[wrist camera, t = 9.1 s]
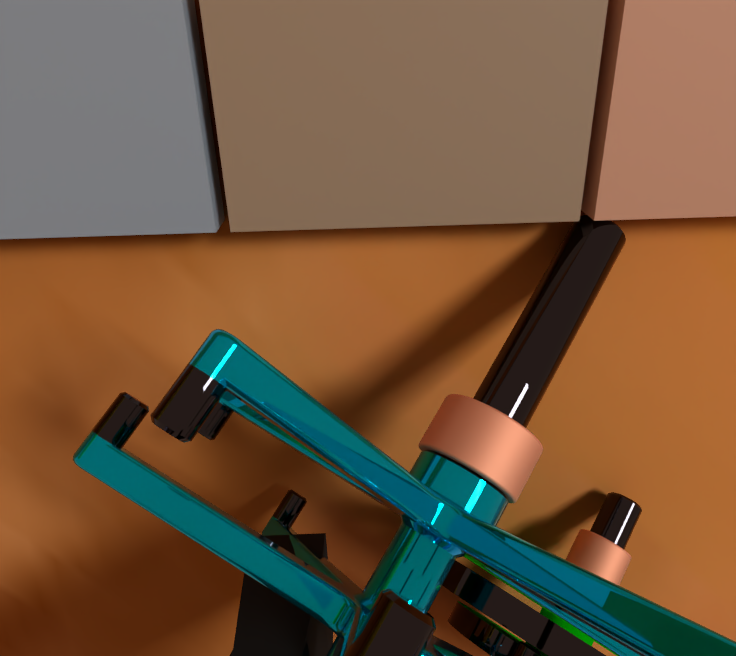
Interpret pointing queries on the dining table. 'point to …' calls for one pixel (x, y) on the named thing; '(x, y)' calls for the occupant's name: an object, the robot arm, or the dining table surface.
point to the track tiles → (362, 113)
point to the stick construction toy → (419, 497)
